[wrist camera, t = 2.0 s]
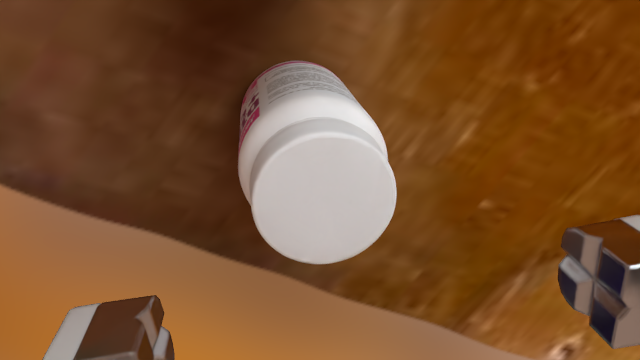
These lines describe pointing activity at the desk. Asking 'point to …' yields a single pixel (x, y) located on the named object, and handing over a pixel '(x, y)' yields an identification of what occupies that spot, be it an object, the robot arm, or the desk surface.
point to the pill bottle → (313, 165)
